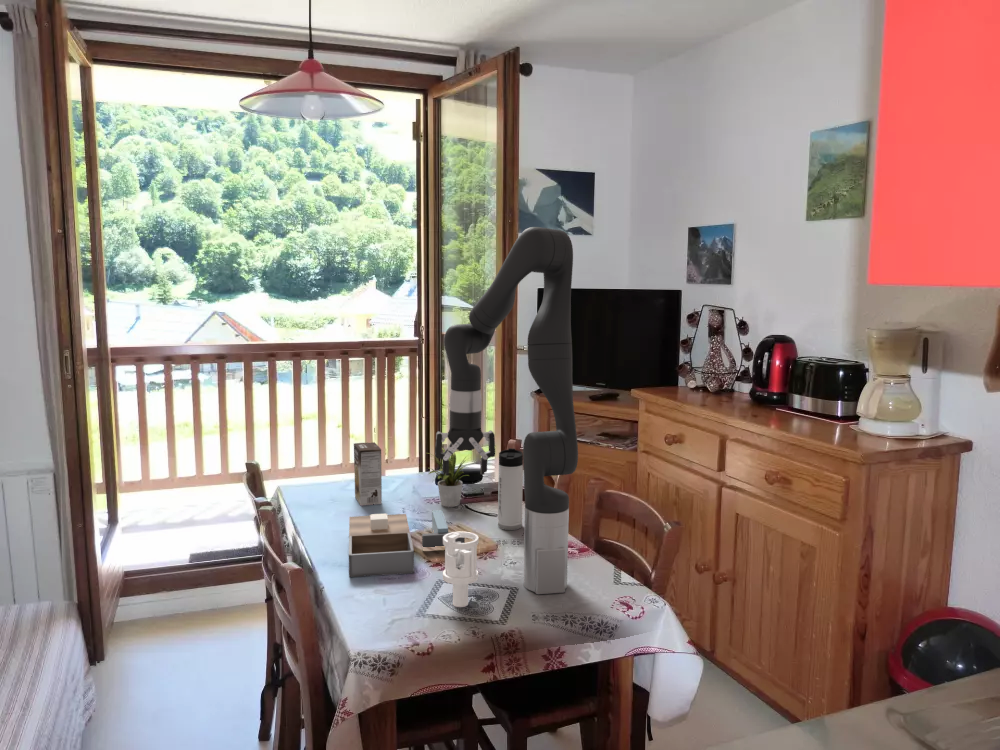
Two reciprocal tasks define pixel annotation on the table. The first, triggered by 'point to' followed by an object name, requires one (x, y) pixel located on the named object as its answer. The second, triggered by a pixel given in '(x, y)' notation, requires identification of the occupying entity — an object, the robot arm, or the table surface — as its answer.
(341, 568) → the table surface
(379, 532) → the wooden box lid
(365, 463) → the coffee box
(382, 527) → the tile
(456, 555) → the white slotted cylindrical fitting
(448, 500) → the house plant
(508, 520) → the travel mug
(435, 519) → the scraper
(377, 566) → the box
